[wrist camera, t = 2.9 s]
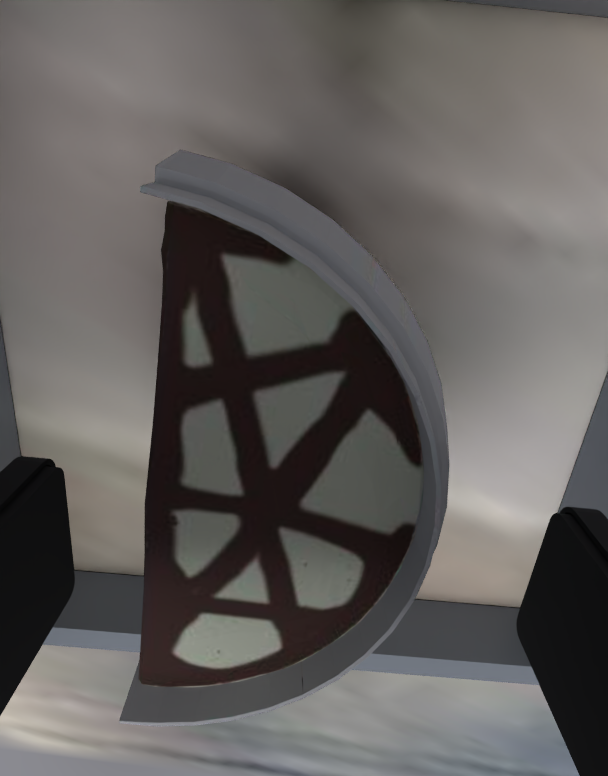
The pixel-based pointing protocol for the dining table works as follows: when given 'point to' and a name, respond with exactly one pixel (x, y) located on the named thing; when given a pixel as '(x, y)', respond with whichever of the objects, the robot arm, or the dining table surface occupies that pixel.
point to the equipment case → (424, 618)
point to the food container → (277, 453)
